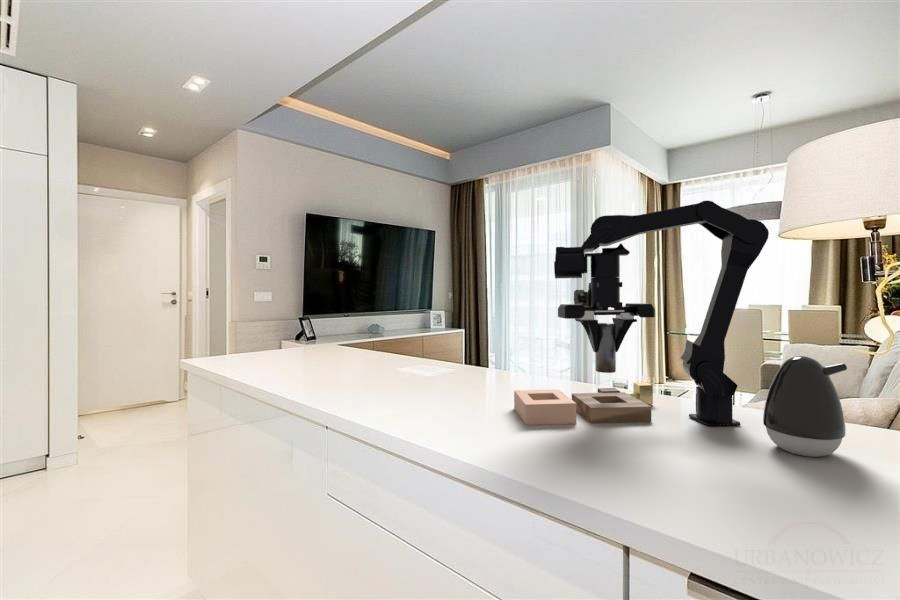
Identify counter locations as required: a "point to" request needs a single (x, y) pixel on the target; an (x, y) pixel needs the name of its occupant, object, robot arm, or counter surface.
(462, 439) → the counter surface
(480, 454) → the counter surface
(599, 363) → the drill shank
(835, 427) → the pump dispenser
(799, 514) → the counter surface
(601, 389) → the socket block
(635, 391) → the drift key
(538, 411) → the block
